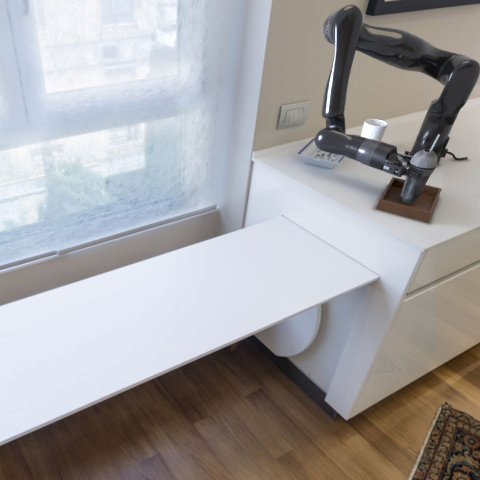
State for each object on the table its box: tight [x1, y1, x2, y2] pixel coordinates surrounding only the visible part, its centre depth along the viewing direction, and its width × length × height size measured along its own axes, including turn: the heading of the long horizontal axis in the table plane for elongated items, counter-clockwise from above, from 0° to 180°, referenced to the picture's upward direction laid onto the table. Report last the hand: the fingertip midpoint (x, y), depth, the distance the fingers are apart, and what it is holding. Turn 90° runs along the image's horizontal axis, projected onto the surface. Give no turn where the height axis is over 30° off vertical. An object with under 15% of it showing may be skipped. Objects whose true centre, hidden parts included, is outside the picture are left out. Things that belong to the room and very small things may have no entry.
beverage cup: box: [400, 134, 440, 204], centre depth 128 cm, size 7×7×20 cm
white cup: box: [360, 118, 389, 142], centre depth 162 cm, size 8×8×10 cm
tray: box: [375, 176, 442, 224], centre depth 134 cm, size 19×15×3 cm
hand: (428, 171), depth 127 cm, fingers open, 8 cm apart
